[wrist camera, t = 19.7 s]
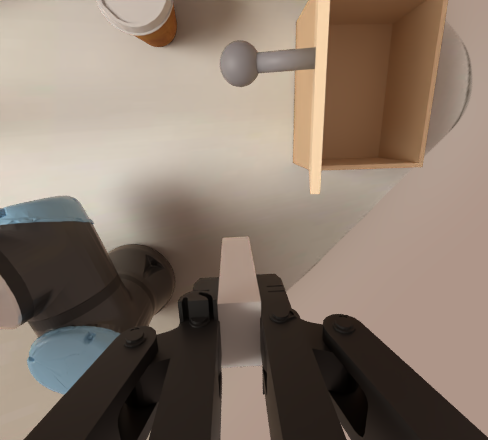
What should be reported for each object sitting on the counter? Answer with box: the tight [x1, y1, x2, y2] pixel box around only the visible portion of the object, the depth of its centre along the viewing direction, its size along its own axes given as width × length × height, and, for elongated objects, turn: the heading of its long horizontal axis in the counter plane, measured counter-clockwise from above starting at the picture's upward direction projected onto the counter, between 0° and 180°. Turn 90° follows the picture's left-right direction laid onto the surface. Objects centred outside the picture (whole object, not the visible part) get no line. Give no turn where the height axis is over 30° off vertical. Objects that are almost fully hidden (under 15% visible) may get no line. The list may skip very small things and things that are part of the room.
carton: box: [293, 0, 448, 170], centre depth 42 cm, size 22×16×12 cm
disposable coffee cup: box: [96, 0, 177, 47], centre depth 38 cm, size 10×10×12 cm
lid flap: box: [220, 0, 330, 194], centre depth 29 cm, size 22×16×9 cm
